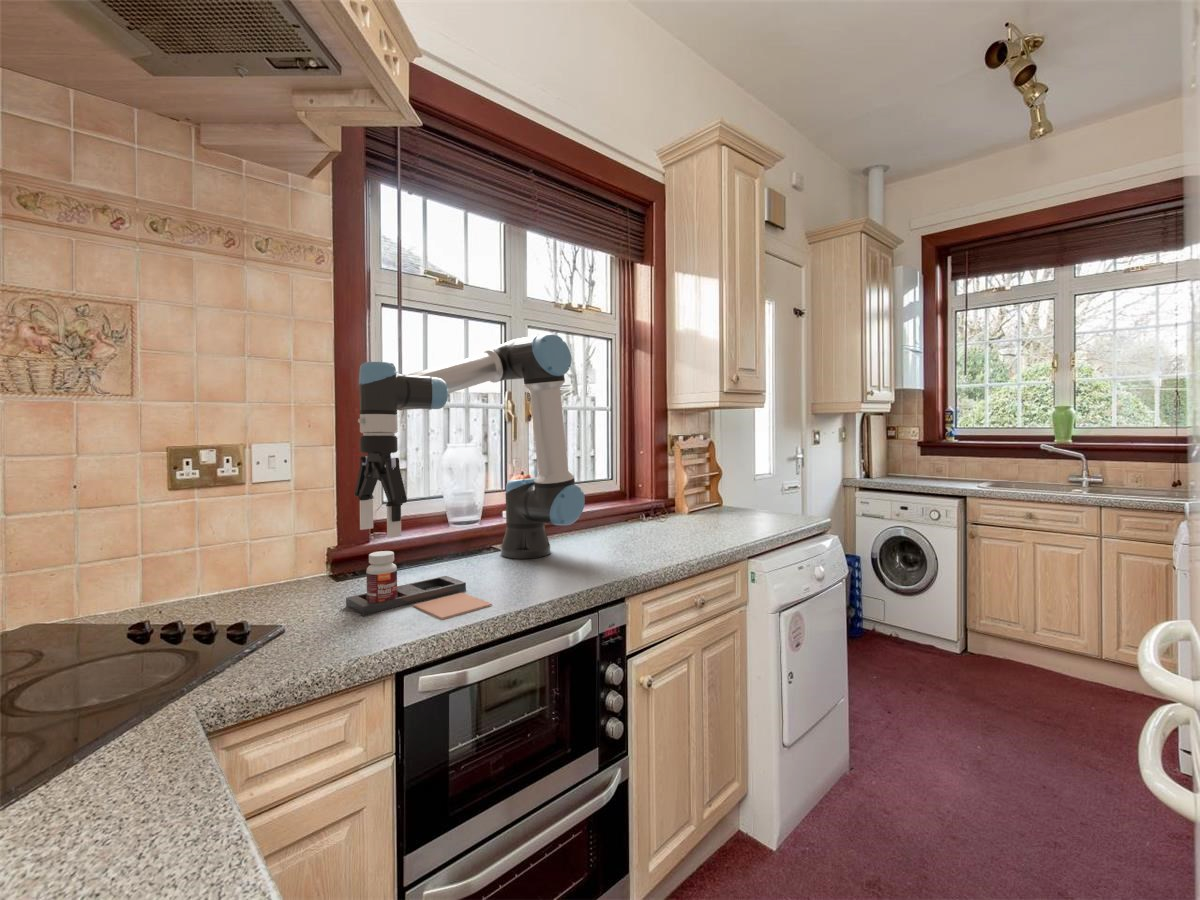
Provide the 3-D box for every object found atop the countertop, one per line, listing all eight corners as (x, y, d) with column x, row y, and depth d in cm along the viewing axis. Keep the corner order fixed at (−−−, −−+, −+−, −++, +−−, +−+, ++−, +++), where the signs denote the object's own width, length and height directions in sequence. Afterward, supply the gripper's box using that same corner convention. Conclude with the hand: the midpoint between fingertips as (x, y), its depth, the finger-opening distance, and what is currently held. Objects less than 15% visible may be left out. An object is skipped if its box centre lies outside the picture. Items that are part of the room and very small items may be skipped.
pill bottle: (380, 611, 114) (378, 557, 113) (360, 606, 117) (359, 554, 116) (403, 603, 119) (402, 552, 119) (384, 598, 122) (383, 549, 122)
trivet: (461, 594, 125) (461, 592, 125) (492, 605, 117) (492, 603, 117) (413, 606, 117) (413, 604, 117) (441, 619, 108) (441, 617, 108)
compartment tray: (446, 583, 134) (445, 575, 134) (465, 590, 128) (465, 582, 128) (346, 606, 117) (345, 597, 117) (363, 616, 111) (363, 606, 110)
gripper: (338, 434, 123) (339, 527, 123) (387, 434, 105) (388, 543, 106) (371, 434, 128) (372, 524, 129) (423, 434, 111) (424, 537, 111)
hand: (379, 532), depth 117 cm, fingers open, 13 cm apart
